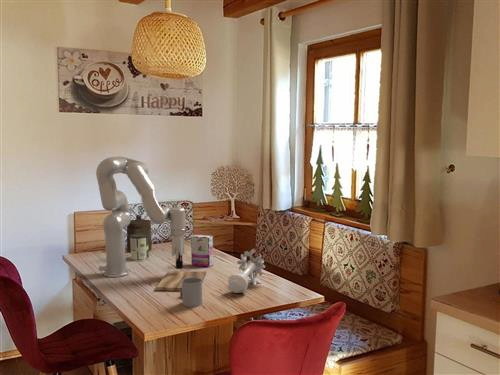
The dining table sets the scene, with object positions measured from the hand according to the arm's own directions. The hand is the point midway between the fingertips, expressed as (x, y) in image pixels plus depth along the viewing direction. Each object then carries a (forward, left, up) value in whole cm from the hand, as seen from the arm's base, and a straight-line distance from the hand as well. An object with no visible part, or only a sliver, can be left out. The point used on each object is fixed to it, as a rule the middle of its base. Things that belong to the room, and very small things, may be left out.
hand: (179, 268), depth 261 cm
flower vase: (+35, -18, -5) cm, 39 cm away
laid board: (+8, -10, -4) cm, 13 cm away
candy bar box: (+9, +22, -5) cm, 24 cm away
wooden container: (-35, +58, -5) cm, 68 cm away
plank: (-2, -10, -4) cm, 11 cm away
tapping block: (+10, -30, -5) cm, 32 cm away
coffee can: (-29, +36, -5) cm, 47 cm away
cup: (+13, -41, -5) cm, 43 cm away
